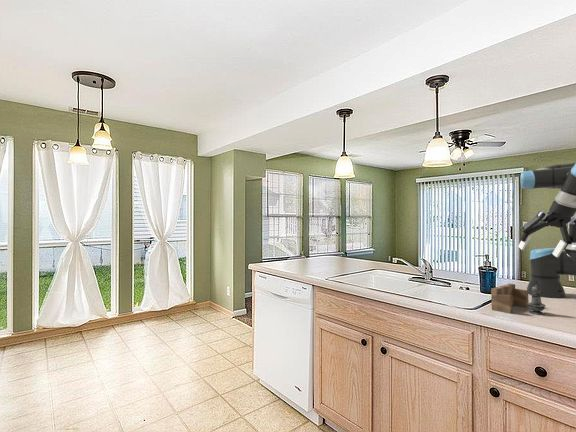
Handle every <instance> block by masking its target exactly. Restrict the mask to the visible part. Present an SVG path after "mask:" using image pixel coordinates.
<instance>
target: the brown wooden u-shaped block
mask: <svg viewBox="0 0 576 432" xmlns="http://www.w3.org/2000/svg"><path fill="white" fill-rule="evenodd" d="M490 291H491V292H490V293H491V295H490V296H491V310H492V311H496V312H501V313H505V314H513V306H519V307H524V308H529V305H528V303H530V302H529V300H530V299H529V293H528V290H527V289H521V288H516V284H515V283H507V284H503V285H500V286H496V287H492V288H490Z"/></svg>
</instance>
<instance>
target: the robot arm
mask: <svg viewBox="0 0 576 432" xmlns="http://www.w3.org/2000/svg"><path fill="white" fill-rule="evenodd" d="M519 180H520V188H522V189H524V190H533V189H549V190H550V189H552V190H553V189H554V190H555V189H559V191H558V193H557V195H556V196H555V198H554V201H552V203H551V204H550V206H549V210H548V212H544V211H542V210H539V211H538V212H537V214H535V216H534V217H532V218H531V219H529V221H527V222H526V223H524V224H523V225H522V226H521V227H520V228H519V230H520V231H521V232H522V235H521V237H520V242H519V244H518V246H517V247H518V248H519V249H520V250H521V251H524V250H525V248H526V247H527V244H528V243H529V241H530V240H531V238H532V234H533V233H536V232H538V231H539V230H541V229H543V228H547V227H556V228H559V230H560V234H561V237H562V239H560V240H559V241H558V243H557V245H556V247H545V248H536V249H532V250H531V251H530V254H529V255H530V256H529V260H530V261H529V262H530V279H529V281H528V285H527V287H526V290H528V295H531V294H532V287H533V286H535V284H537V286H538V287H540V293H541V295H542V296H541V298H542V297H544V298H557V299H558V298H564V297H566V291H565V289H564V286H563V284H562V281H561V276H562V275H563V276H573V277H574V276H575V277H576V162H573V163H563V164H553V165H549V166H544V167H541V168H538V169H533V170H525V171H521V172H520V179H519ZM567 224H568V225H567Z"/></svg>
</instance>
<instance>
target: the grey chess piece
mask: <svg viewBox="0 0 576 432" xmlns="http://www.w3.org/2000/svg"><path fill="white" fill-rule="evenodd" d="M530 295H531V301H530V302H529V303H528V305H529V306H528V308H529V309H530V310H529V311H528V314H531V315H536V316H544V315H545V312H543V311H544V310H545V307H546V306H547V305H546V304H544V303H542V295H541V293H540V287H538V286H537V284H535V286H533V287H532V294H530Z"/></svg>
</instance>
